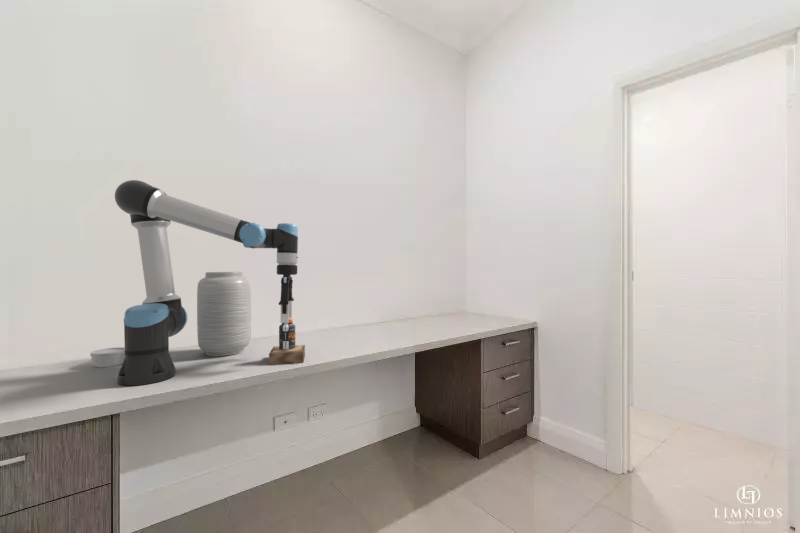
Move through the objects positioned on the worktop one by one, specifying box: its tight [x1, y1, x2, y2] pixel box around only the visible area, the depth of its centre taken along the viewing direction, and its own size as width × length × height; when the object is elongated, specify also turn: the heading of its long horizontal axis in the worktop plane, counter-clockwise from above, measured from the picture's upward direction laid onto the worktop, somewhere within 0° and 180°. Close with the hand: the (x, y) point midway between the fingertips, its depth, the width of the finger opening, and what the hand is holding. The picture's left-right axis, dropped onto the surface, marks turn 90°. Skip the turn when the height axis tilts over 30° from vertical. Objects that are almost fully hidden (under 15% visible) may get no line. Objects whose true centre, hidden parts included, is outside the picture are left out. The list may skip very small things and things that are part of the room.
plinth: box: [268, 344, 306, 365], centre depth 140 cm, size 12×12×4 cm
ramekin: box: [89, 346, 125, 369], centre depth 135 cm, size 11×11×5 cm
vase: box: [196, 271, 252, 357], centre depth 153 cm, size 20×20×34 cm
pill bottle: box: [278, 318, 296, 350], centre depth 140 cm, size 6×6×11 cm
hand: (286, 320), depth 139 cm, fingers open, 13 cm apart
